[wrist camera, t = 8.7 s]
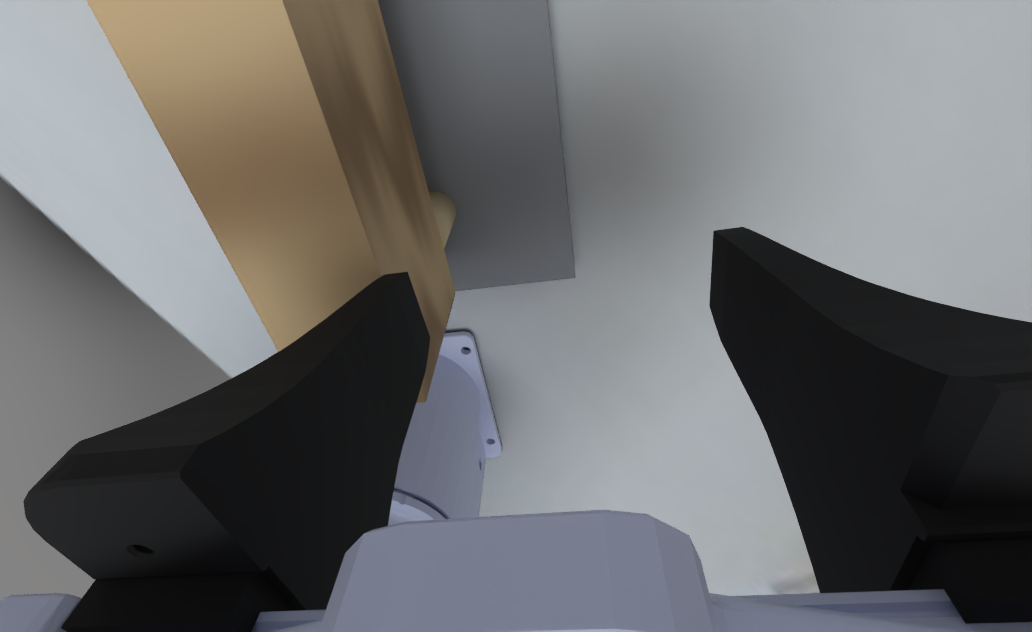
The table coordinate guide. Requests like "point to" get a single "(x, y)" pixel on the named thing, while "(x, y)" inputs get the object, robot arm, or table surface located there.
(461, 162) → the peg stand
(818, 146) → the table surface
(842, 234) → the table surface
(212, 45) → the oak bar
